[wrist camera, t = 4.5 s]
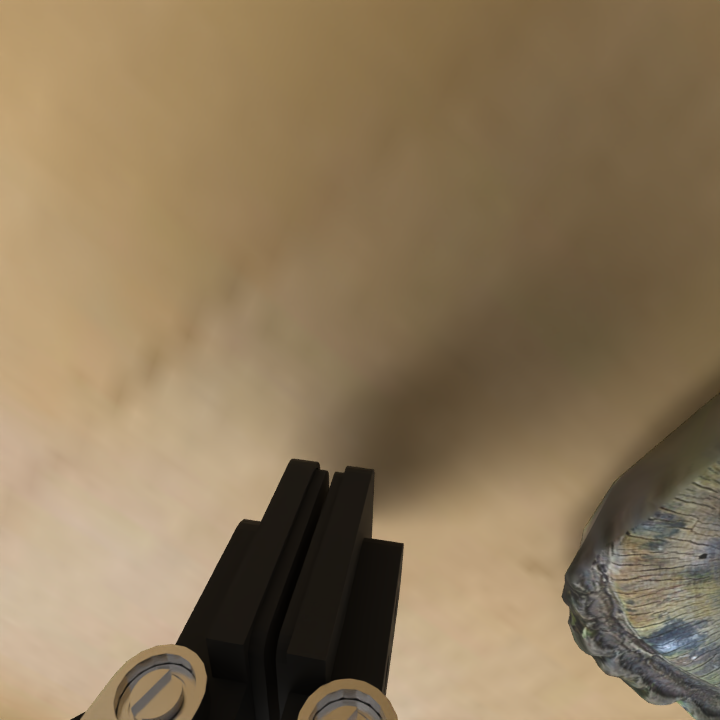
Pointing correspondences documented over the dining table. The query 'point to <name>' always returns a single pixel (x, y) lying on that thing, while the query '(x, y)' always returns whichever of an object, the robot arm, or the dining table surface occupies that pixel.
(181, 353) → the dining table surface
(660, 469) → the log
